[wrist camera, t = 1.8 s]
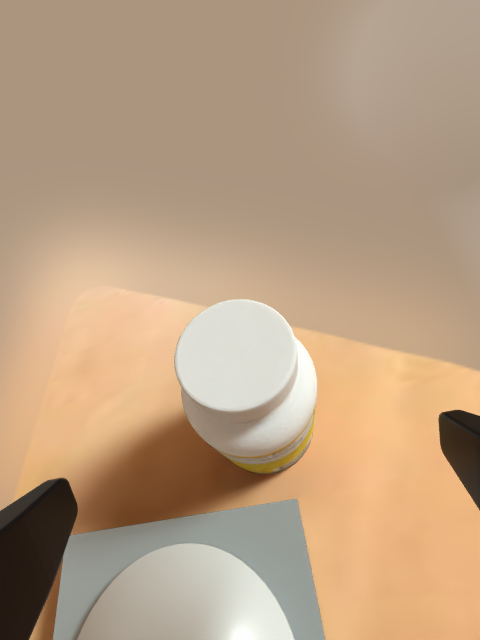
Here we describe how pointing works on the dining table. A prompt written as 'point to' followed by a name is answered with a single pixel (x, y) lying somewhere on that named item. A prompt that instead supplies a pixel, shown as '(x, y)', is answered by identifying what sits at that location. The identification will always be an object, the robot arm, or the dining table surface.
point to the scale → (192, 579)
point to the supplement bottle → (247, 385)
